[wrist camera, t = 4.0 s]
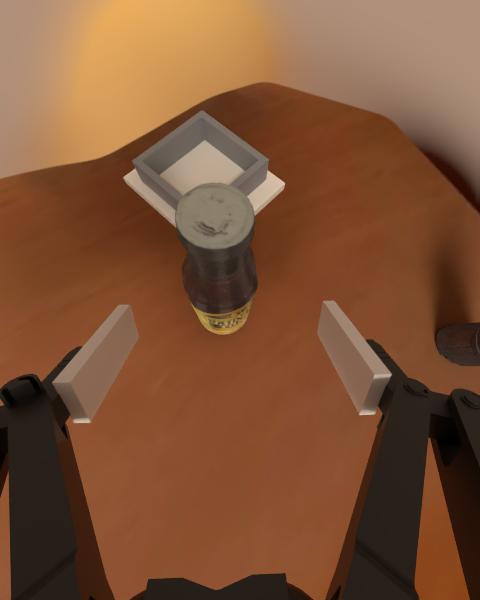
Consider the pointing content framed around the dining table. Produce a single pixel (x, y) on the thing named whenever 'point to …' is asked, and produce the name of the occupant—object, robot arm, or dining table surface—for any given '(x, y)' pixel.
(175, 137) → the bottle stand
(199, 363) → the dining table surface
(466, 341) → the butter churn
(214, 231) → the sauce bottle
